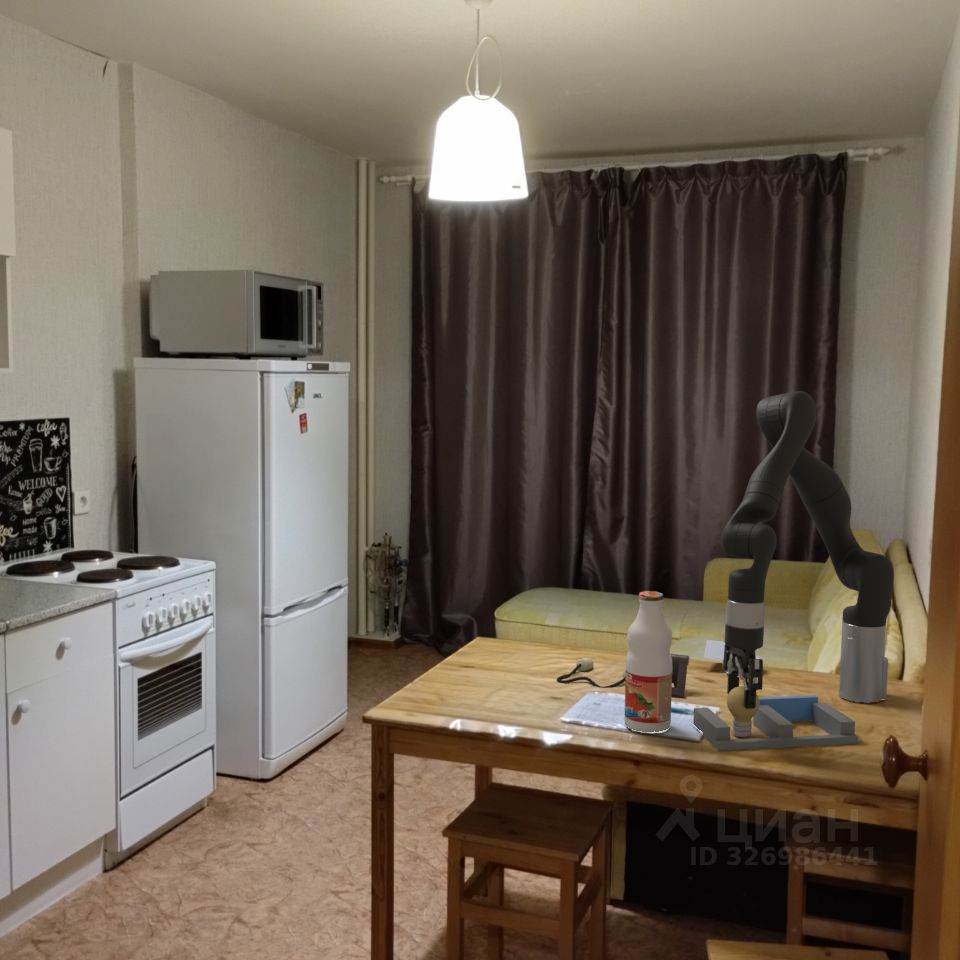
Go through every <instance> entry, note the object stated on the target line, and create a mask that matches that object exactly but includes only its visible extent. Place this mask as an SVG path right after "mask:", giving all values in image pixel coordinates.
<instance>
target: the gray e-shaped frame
mask: <svg viewBox="0 0 960 960" xmlns="http://www.w3.org/2000/svg"><path fill="white" fill-rule="evenodd" d="M752 719H753V720H752V725H754V726H755V728H756V729H758V730H759V731H760V732H761V733H763V734H764V735H766V737H761V738H758V737H756V738H755V737H754V738H739V739H731V726H730V725H729V724H727V723H726V722H725V721H724V720H723V719H722V718H721V717H719V716H718V715H717V714H716V713H715V712H714V711H712V709H710V708H709V707H694V708H693V721H692V722H693V723H692V725H693V724H694V725H695V726H696V727H697V728H698V729H699V730H701V731H702V732H703V735H704V737H705V738H706V739H707V740H706V739H705V738H704V737H703V738H704V739H705V740H706V741H709V742H708V743H709V744H710V745H711V746H713V747H714V749H715V750H717V751H720V752H721V751H737V750H738V751H739V750H756V749H778V748H782V749H783V748H798V747H801V748H802V747H820V746H822V747H823V746H841V745H858V744H859V736H858V734H855V731H856V730H855V729H856V728H855V727H856V721H855V720H853V719H852V718H850V717H849V716H848V715H846V714H844V713H843V712H841V711H840V710H838V709H837V708H835V707H834V706H832V705H831V704H829V703H828V702H819V697H818V696H817V695H816V694H815V695H796V696H795V695H792V696H790V695H789V696H768V697H764V696H763V697H759V709H758V711H757V712H756V714H755V715H754V716H753V717H752ZM805 720H807V722H809V721H810V720H812V721H811V722H812V723H813V724H815V725H816V726H817V727H819V728H820V729H821V730H822V731H824V732H825V733H827V735H825V734H823V735H805V736H804V735H803V736H802V735H801V736H794V724H793V723H792V722H806V721H805Z"/></svg>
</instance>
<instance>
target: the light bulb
mask: <svg viewBox="0 0 960 960" xmlns="http://www.w3.org/2000/svg"><path fill="white" fill-rule="evenodd" d="M744 689H745V688H744V685H742V686H741V685H739V687H735V688H734V689H732V690H731V691H730V692H729V694H727V697H726V706H727V709H728V711H729V712H730V715H731V716H732V717H733V719H732V734H733V735H735V736H736V737H739V738H748V737H750V736H751V735H752V725H753V720H752V719H753V716H754V715H755V714H756V712H757V711H758V709H759V698H760V697H759V695H758V694H757V693H756V707H755V708H754V709H746V708H745V707H744Z"/></svg>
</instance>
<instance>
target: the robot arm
mask: <svg viewBox="0 0 960 960" xmlns="http://www.w3.org/2000/svg"><path fill="white" fill-rule="evenodd" d="M756 419H757V424H758V426H759V428H760V431H761V432H762V435H763V437H764V438H765V439H766V441H767V442H768V444H769V445H770V447H771V451H770V452H769V453H768V454H767V455H766V456H764V458H763V460H762V461H761V462H760V463H759V464H757V467H756V468H755V469H754V470H753V472H752V474H751V476H750V478H749V481H748V484H747V486H746V488H745V492H744V494H743V499H742V501H741V502H740V504H739V506H738V507H737V509H736V510H735V512H734V513H733V514H732V516H731V517H730V518H729V520H728V521H727V523H726V524H725V526H724V528H723V530H722V532H721V537H720V546H721V549H722V551H723V553H725V554H726V555H727V556H730V557H733V558H739V559H740V558H743V559H749V560H753V563H752V565H751V566H750V567H749V568H748V567H747V568H738V569H734V570H732V571H731V572H730V573H729V575H728V586H727V587H728V589H727V591H728V593H727V602H726V608H725V623H724V624H725V625H724V642H725V648H724V662H723V661H722V663H723V670H724V671H723V670H722V671H723V672H725V671H726V672H725V673H726V677H727V688H726V689H727V690H726V691H727V692H726V693H727V695H728V694H729V692H730V691H731V690H732V689H734V688H735V687H739V686H740V680H741V681H742V683H743V686H744V688H745V689H744V707H745V708H746V709H754V708H755V707H756V694H757V691H759V690H763V682H764V681H763V678H764V677H763V676H764V673H763V672H764V660H763V659H762V658H761V659H756V655H757V654H756V651H757V650H758V649H761V648H763V646H764V640H765V639H764V635H765V634H764V633H765V618H766V617H765V615H766V613H765V612H766V610H765V590H766V589H765V588H766V579H767V575H768V572H769V568H770V564H771V562H772V559H773V557H774V556H773V555H774V554H775V550H776V547H777V543H778V539H777V534H776V532H775V530H774V528H772V526H770V525H768V524H761V523H764V522H769V521H771V520H773V519H774V518H775V516H776V515H777V512H778V509H779V506H780V502H781V500H782V496H783V493H784V490H785V486H786V483H787V482H788V478H789V477H790V479H791V481H792V483H793V485H794V486H795V488H796V491H797V493H798V495H799V496H800V497H799V498H800V499H801V501H802V503H803V505H804V507H805V509H806V511H807V513H808V514H809V516H810V518H811V519H812V521H813V524H814V526H815V528H816V530H817V531H818V533H819V536H820V537H821V539H822V541H823V543H824V545H825V547H826V550H827V553H828V555H829V558H830V561H831V563H832V566H833V570H834V572H835V574H836V576H837V578H838V580H839V582H840V583H841V584H842V585H843V586H844V587H846V588H847V589H849V590H852V591H855V592H857V601H856V604H854V605H849V606H846V607H845V608H843V611H842V623H841V624H842V625H841V638H840V639H841V641H840V642H841V645H840V662H839V681H838V682H839V684H838V696H839V697H842V699H843V698H844V700H846V699H847V700H846V701H850V702H853V701H855V702H854V703H859V702H864V703H863V704H871V703H870V702H877V701H880V700H881V699H886V700H887V689H888V671H889V659H888V658H887V657H885V653H886V651H885V650H886V636H887V635H886V634H887V619H888V616H889V614H890V611H891V608H892V599H893V591H894V590H893V589H894V582H895V581H894V580H895V578H894V576H895V572H894V571H895V570H894V567H893V566H894V565H893V563H892V561H891V559H890V558H889V557H888V556H886V555H884V554H880V553H877V552H872V551H869V550H868V551H867V550H865V549H863V548H862V547H861V545H860V544H859V543H858V541H857V539H856V537H855V535H854V533H853V531H852V528H851V516H852V501H851V497H850V495H849V493H848V491H847V489H846V487H845V485H844V483H843V481H842V479H841V478H840V476H839V474H838V473H837V471H835V470H834V469H833V467H831V466H830V465H829V464H827V463H826V462H824V461H822V460H821V459H820V458H819V457H817V456H816V455H815V454H813V453H811V452H810V451H809V450H808V449H806V448H805V445H806V443H807V441H808V439H809V437H810V436H811V434H812V431H813V430H814V427H815V424H816V420H817V407H816V403H815V401H814V399H813V397H812V396H811V395H810V394H809V393H808V392H805V391H802V390H801V391H800V390H799V391H798V390H797V391H790V392H786V393H781V394H776V395H772V396H768V397H764V398H762V399H761V400H760V401H758V403H757V406H756ZM728 660H729V661H728ZM865 702H866V703H865ZM880 702H881V701H880ZM877 703H878V702H877Z"/></svg>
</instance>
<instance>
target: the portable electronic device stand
mask: <svg viewBox="0 0 960 960" xmlns="http://www.w3.org/2000/svg"><path fill="white" fill-rule="evenodd" d="M670 655H671V657H672V685H673V686H672V696H671V697H677V698H684V697H685V694H686V683H687V682H686V681H687V674H688V673H687V672H688V671H687V670H688V666H689V664H690V656H689V655H687V654H675V653H670Z"/></svg>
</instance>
